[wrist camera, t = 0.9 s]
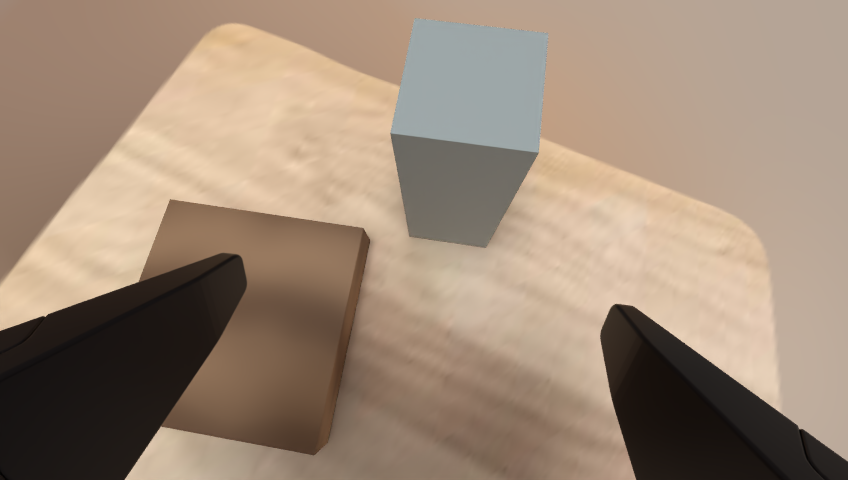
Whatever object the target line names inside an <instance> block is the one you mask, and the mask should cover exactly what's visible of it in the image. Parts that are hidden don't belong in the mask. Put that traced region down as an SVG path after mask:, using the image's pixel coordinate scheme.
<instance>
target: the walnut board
mask: <svg viewBox="0 0 848 480" xmlns="http://www.w3.org/2000/svg"><path fill="white" fill-rule="evenodd" d="M369 243H370V239H369V237H368V236H367V234H366V232H365V230H364V228H359V227H352V226H345V225H338V224H332V223H325V222H318V221H312V220H305V219H298V218H291V217H285V216H278V215H271V214H264V213H258V212H251V211H244V210H237V209H231V208H224V207H217V206H211V205H204V204H197V203H190V202H184V201H177V200H170V201H169V204H168V206H167V209H166V212H165V214H164V217H163V219H162V222H161V225H160V227H159V230H158V233H157V235H156V238H155V240H154V243H153V246H152V248H151V251H150V254H149V256H148V259H147V261H146V264H145V267H144V269H143V272H142V274H141V277H140V280H139V282H141V281H143V280H146V279H149V278H152V277H155V276H157V275H160V274H163V273H166V272H169V271H172V270H174V269H177V268H180V267H183V266H186V265H188V264H191V263H194V262H197V261H200V260H203V259H205V258H208V257H211V256H214V255H217V254H219V253H224V252H225V253H233V254H238V255H240V256H241V257H242V260H243V264H244V268H245V273H246V278H247V288H246V291H245V293H244V295H243V297H242V298H241V300H240V302H239V304H238V306H237V308H236V310H235V311H234V313H233V315H232V317H231V319H230V321H229V323H228V325H227V326H226V328H225V330H224V332H223V334H222V336H221V337H220V339H219V341H218V342H217V344H216V346H215V347H214V349H213V350H212V352H211V353H210V355H209V356H208V358H207V359H206V361H205V362H204V363H203V365H202V366H201V368H200V369H199V371H198V372H197V374H196V375H195V377H194V378H193V380H192V381H191V383H190V384H189V386H188V387H187V389H186V390H185V391H184V393H183V394H182V396H181V397H180V399H179V400H178V402H177V403H176V405H175V406H174V408H173V409H172V411H171V412H170V414H169V415H168V416H167V418H166V419H165V421H164V422H163V424H162V425H161V426H162V427H167V428H172V429H177V430H183V431H188V432H193V433H199V434H204V435H209V436H215V437H220V438H225V439H231V440H236V441H241V442H247V443H252V444H257V445H263V446H268V447H273V448H279V449H284V450H289V451H294V452H300V453H305V454H310V455H315V454H316V453H317V452H318V451H319V450H320V449H321V448H322V447H323V446H324V445H326V444H327V443H328V439H329V434H330V429H331V424H332V419H333V415H334V410H335V405H336V400H337V396H338V391H339V386H340V381H341V377H342V372H343V367H344V362H345V357H346V353H347V348H348V343H349V338H350V334H351V329H352V324H353V319H354V315H355V310H356V305H357V300H358V295H359V291H360V286H361V281H362V276H363V272H364V267H365V262H366V257H367V252H368V248H369Z"/></svg>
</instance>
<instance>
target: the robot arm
mask: <svg viewBox="0 0 848 480" xmlns="http://www.w3.org/2000/svg"><path fill="white" fill-rule="evenodd" d="M246 288H247V278H246V273H245V268H244V264H243V260H242V257H241V256H240V255H238V254H233V253H225V252H224V253H219V254H217V255H214V256H211V257H208V258H205V259H203V260H200V261H197V262H194V263H191V264H188V265H186V266H183V267H180V268H177V269H174V270H172V271H169V272H166V273H163V274H160V275H157V276H155V277H152V278H149V279H146V280H143V281H141V282H138V283H135V284H132V285H129V286H126V287H124V288H121V289H118V290H115V291H112V292H109V293H107V294H104V295H101V296H98V297H95V298H93V299H90V300H87V301H84V302H81V303H78V304H76V305H73V306H70V307H67V308H64V309H62V310H59V311H56V312H53V313H50V314H48V315H47V316H46V317H45V316H42V317H39V318H36V319H33V320H30V321H27V322H25V323H22V324H19V325H16V326H13V327H10V328H7V329H4V330H2V331H0V480H125V478H126V477H127V475H128V474H129V472H130V471H131V470H132V468H133V467H134V465H135V464H136V462H137V461H138V459H139V458H140V456H141V455H142V453H143V452H144V450H145V449H146V447H147V446H148V444H149V443H150V442H151V440H152V439H153V437H154V436H155V434H156V433H157V431H158V430H159V428H160V427H161V425H162V424H163V422H164V421H165V419H166V418H167V416H168V415H169V414H170V412H171V411H172V409H173V408H174V406H175V405H176V403H177V402H178V400H179V399H180V397H181V396H182V394H183V393H184V391H185V390H186V389H187V387H188V386H189V384H190V383H191V381H192V380H193V378H194V377H195V375H196V374H197V372H198V371H199V369H200V368H201V366H202V365H203V363H204V362H205V361H206V359H207V358H208V356H209V355H210V353H211V352H212V350H213V349H214V347H215V346H216V344H217V342H218V341H219V339H220V337H221V336H222V334H223V332H224V330H225V328H226V326H227V325H228V323H229V321H230V319H231V317H232V315H233V313H234V311H235V310H236V308H237V306H238V304H239V302H240V300H241V298H242V297H243V295H244V293H245V291H246ZM600 339H601V345H602V350H603V356H604V361H605V366H606V372H607V377H608V382H609V388H610V393H611V397H612V402H613V405H614V409H615V412H616V415H617V419H618V422H619V425H620V428H621V432H622V435H623V438H624V441H625V445H626V448H627V451H628V454H629V458H630V461H631V464H632V467H633V471H634V474H635V477H636V480H848V461H846V460H845V459H843V458H842V457H841V456H839V455H838V454H836V453H835V452H834V451H832V450H831V449H829V448H828V447H827V446H825V445H824V444H822V443H821V442H820V441H818V440H817V439H816V438H814V437H813V436H811V435H810V434H809V433H807V432H806V431H805V430H803V429H799V428H798V426H797V425H796V424H795V423H793V422H792V421H791V420H789V419H788V418H787V417H785V416H784V415H783V414H781V413H780V412H778V411H777V410H776V409H774V408H773V407H771V406H770V405H769V404H767V403H766V402H765V401H763V400H762V399H760V398H759V397H758V396H756V395H755V394H754V393H752V392H751V391H749V390H748V389H747V388H745V387H744V386H743V385H741V384H740V383H738V382H737V381H736V380H734V379H733V378H732V377H730V376H729V375H727V374H726V373H725V372H723V371H722V370H721V369H719V368H718V367H716V366H715V365H714V364H712V363H711V362H709V361H708V360H707V359H705V358H704V357H703V356H701V355H700V354H698V353H697V352H696V351H694V350H693V349H692V348H690V347H689V346H687V345H686V344H685V343H683V342H682V341H681V340H679V339H678V338H676V337H675V336H674V335H672V334H671V333H670V332H668V331H667V330H665V329H664V328H663V327H661V326H660V325H659V324H657V323H656V322H654V321H653V320H652V319H650V318H649V317H648V316H646V315H645V314H643V313H642V312H641V311H639V310H638V309H637V308H635V307H633V306H629V305H622V304H615V305H613V306H612V307H611V309H610V311H609V313H608V315H607V318H606V320H605V322H604V325H603V327H602V330H601V335H600Z"/></svg>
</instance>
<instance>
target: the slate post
mask: <svg viewBox="0 0 848 480" xmlns="http://www.w3.org/2000/svg"><path fill="white" fill-rule="evenodd" d="M547 43H548V33H542V32H533V31H524V30H515V29H506V28H497V27H489V26H480V25H470V24H461V23H453V22H443V21H435V20H426V19H417V18H415V19H414V24H413V29H412V34H411V38H410V43H409V48H408V52H407V57H406V63H405V67H404V71H403V76H402V81H401V86H400V90H399V95H398V100H397V104H396V109H395V114H394V119H393V123H392V128H391V133H390V134H391V139H392V144H393V150H394V155H395V161H396V166H397V171H398V177H399V182H400V187H401V193H402V198H403V204H404V209H405V214H406V220H407V225H408V231H409V236H410V237H417V238H424V239H430V240H437V241H444V242H451V243H457V244H464V245H471V246H478V247H484V248H486V246H487V245H488V243H489V241H490V239H491V237H492V236H493V234H494V232H495V230H496V228H497V227H498V225H499V223H500V221H501V219H502V218H503V216H504V214H505V212H506V210H507V209H508V207H509V205H510V203H511V202H512V200H513V198H514V196H515V194H516V193H517V191H518V189H519V187H520V185H521V184H522V182H523V180H524V178H525V176H526V175H527V173H528V171H529V169H530V167H531V166H532V164H533V162H534V160H535V159H536V157H537V155H538V153H539V143H540V130H541V117H542V106H543V92H544V81H545V68H546V55H547Z"/></svg>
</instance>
